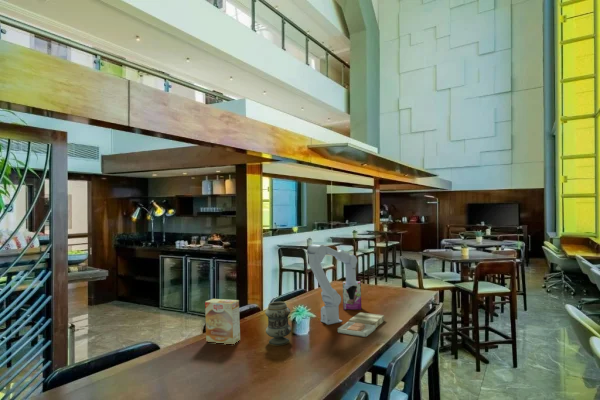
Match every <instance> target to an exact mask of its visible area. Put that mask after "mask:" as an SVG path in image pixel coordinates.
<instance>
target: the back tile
mask: <svg viewBox="0 0 600 400" xmlns="http://www.w3.org/2000/svg"><path fill="white" fill-rule="evenodd" d="M352 326H357V327H361V330H363V329H364V328H365V324H363V323H354V324H353V325H352Z"/></svg>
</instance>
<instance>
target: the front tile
mask: <svg viewBox="0 0 600 400" xmlns="http://www.w3.org/2000/svg"><path fill="white" fill-rule="evenodd" d="M347 330H353V331H361V327H357V326H350V327H349V328H347Z"/></svg>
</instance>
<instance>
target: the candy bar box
mask: <svg viewBox="0 0 600 400" xmlns="http://www.w3.org/2000/svg"><path fill="white" fill-rule="evenodd" d="M357 281H358V280H357ZM345 284H346V280H344V281H342V306H343V307H342V309H343V310H344V311H346V310H347V311H348V310H352V311H353V310H354V311H355V310H357V311H359V310H360V311H361V310H362V283H361V281H360V280H359V281H358V285H354V286H357V289H356V291H355V296H354V299H353V300H350V299H349V295H348V292H347V290H346V289H344V285H345Z"/></svg>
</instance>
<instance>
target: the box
mask: <svg viewBox="0 0 600 400" xmlns="http://www.w3.org/2000/svg"><path fill="white" fill-rule="evenodd" d="M354 323H355V322H349V321H347V322H345V323H344V324H342V325H340V326H339V327H337V333H338V334H344V335H351V336H355V337H364V338H367V337H368V336H369V335H371V334H372V333H373V332H374V331H375V330H376V328H375V325H370V324H365V328H364V329H363V330H361V331H353V330H347V328H349V327H350V326H352V325H353V324H354Z"/></svg>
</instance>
